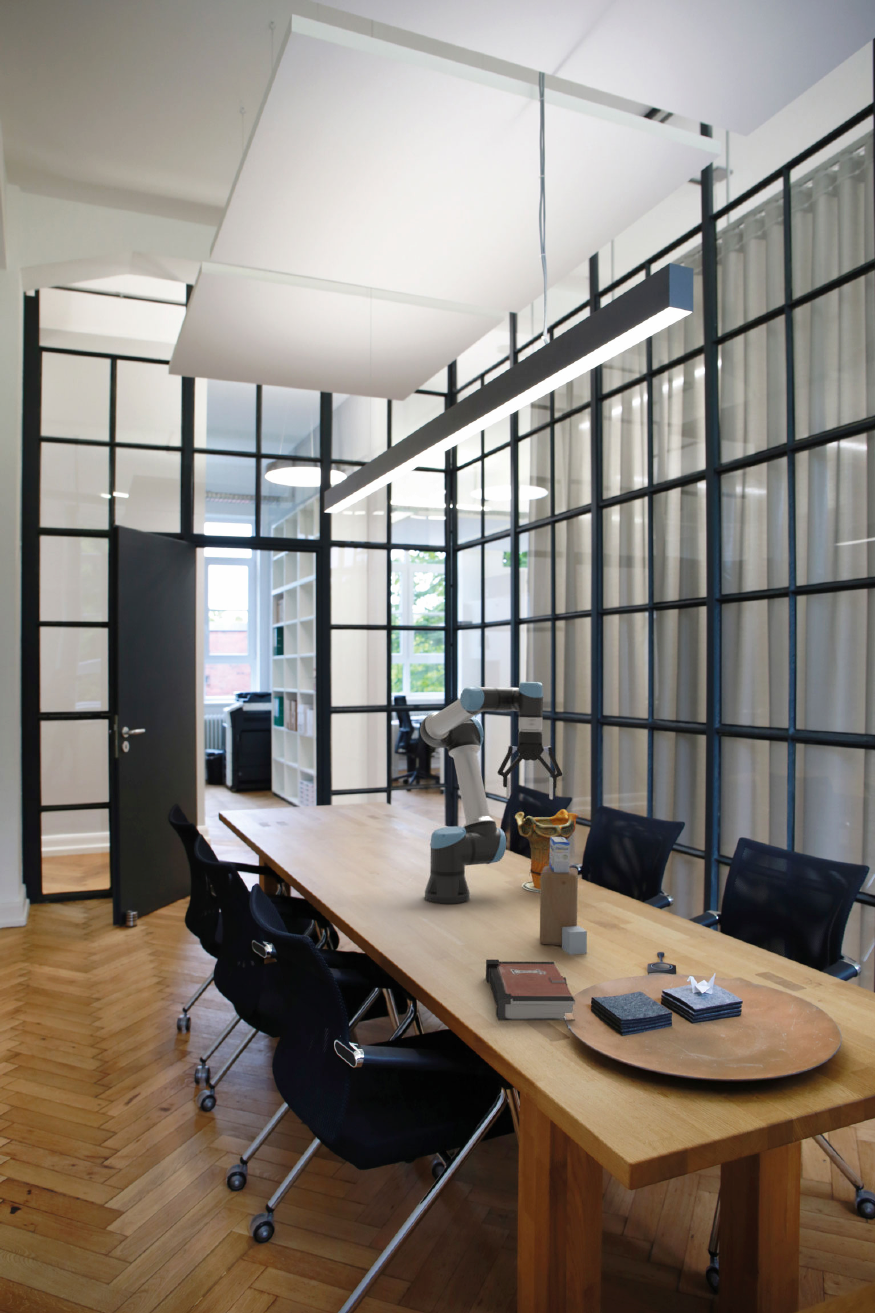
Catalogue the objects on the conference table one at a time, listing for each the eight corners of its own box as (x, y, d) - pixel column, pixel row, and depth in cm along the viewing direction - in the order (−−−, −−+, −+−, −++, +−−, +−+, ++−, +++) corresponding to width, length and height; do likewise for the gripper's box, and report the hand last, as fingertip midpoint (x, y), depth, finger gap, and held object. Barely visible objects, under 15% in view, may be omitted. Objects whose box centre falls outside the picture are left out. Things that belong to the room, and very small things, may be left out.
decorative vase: (501, 882, 307) (506, 805, 309) (556, 881, 316) (560, 805, 318) (530, 896, 288) (535, 813, 290) (587, 894, 297) (591, 814, 299)
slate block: (569, 955, 228) (569, 932, 228) (562, 949, 233) (562, 927, 233) (586, 953, 229) (586, 931, 229) (578, 948, 234) (579, 926, 234)
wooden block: (575, 947, 234) (576, 875, 234) (539, 944, 236) (540, 872, 237) (577, 937, 244) (578, 867, 244) (542, 934, 246) (543, 865, 246)
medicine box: (549, 866, 244) (549, 836, 245) (564, 867, 245) (564, 836, 245) (554, 873, 237) (554, 841, 237) (569, 873, 237) (570, 842, 237)
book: (578, 1022, 183) (578, 999, 183) (498, 1022, 182) (498, 999, 183) (556, 980, 209) (556, 959, 209) (485, 980, 209) (486, 959, 209)
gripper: (491, 730, 263) (490, 799, 262) (571, 732, 263) (570, 800, 262) (490, 729, 270) (489, 796, 270) (568, 730, 270) (567, 797, 270)
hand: (529, 798), depth 266 cm, fingers open, 13 cm apart
